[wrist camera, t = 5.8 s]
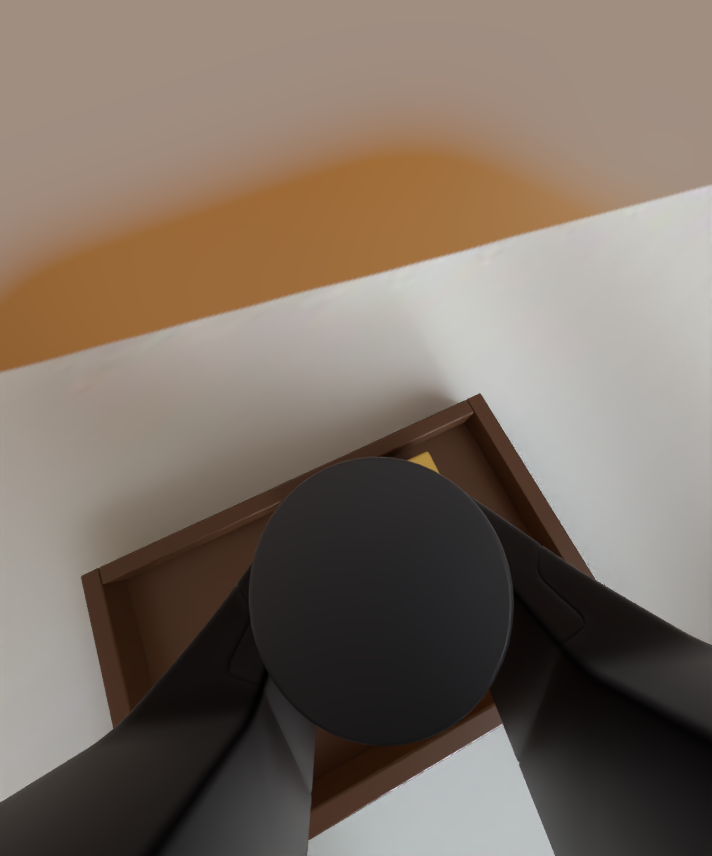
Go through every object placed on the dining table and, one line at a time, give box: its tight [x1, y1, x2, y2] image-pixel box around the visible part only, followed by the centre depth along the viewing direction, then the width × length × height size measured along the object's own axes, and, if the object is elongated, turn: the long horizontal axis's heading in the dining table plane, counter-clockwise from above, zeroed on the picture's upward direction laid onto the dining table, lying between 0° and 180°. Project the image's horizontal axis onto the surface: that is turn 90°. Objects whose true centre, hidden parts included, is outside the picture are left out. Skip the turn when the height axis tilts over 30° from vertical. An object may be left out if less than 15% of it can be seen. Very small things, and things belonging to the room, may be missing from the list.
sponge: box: [249, 452, 514, 746], centre depth 9 cm, size 6×4×12 cm
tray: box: [81, 394, 595, 840], centre depth 14 cm, size 18×11×2 cm, turn 115°
